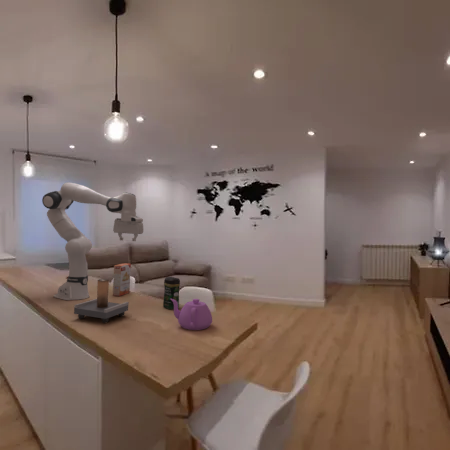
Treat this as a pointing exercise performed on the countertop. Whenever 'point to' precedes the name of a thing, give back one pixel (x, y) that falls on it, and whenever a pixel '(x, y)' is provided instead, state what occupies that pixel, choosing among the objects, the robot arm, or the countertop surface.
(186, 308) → the teakettle
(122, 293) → the cracker box
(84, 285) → the robot arm
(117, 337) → the countertop surface
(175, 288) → the coffee jar
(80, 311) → the grey rimmed tray
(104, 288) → the canister
